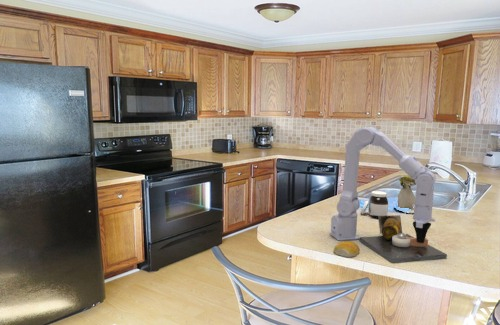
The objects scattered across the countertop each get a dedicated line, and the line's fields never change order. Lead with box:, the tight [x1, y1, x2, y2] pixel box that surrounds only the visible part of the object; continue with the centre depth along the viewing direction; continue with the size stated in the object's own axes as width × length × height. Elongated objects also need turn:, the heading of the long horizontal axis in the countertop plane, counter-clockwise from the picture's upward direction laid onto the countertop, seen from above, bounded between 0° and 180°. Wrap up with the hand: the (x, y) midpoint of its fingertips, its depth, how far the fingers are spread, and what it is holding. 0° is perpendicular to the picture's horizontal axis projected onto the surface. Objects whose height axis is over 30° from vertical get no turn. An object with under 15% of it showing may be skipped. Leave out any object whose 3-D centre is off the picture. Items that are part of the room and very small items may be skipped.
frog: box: [396, 174, 417, 214], centre depth 187 cm, size 12×13×18 cm
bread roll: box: [333, 240, 360, 258], centre depth 131 cm, size 8×9×4 cm
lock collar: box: [392, 235, 429, 247], centre depth 135 cm, size 12×6×2 cm, turn 85°
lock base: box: [358, 232, 448, 264], centre depth 135 cm, size 21×21×6 cm
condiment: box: [378, 214, 403, 240], centre depth 144 cm, size 7×8×12 cm
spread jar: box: [360, 190, 389, 219], centre depth 177 cm, size 12×11×12 cm
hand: (420, 242), depth 133 cm, fingers closed, pressing on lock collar
